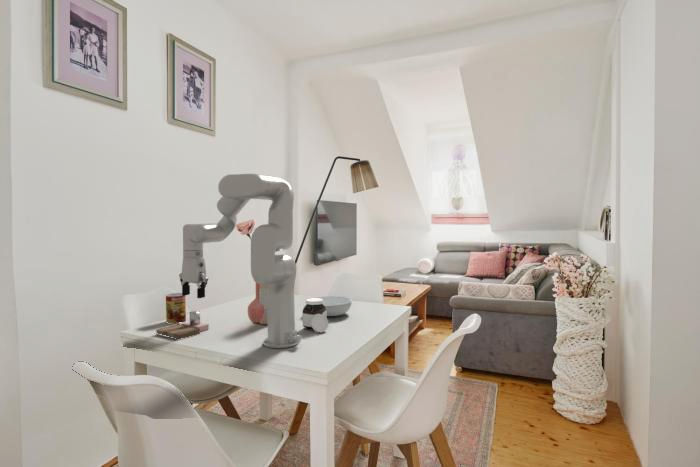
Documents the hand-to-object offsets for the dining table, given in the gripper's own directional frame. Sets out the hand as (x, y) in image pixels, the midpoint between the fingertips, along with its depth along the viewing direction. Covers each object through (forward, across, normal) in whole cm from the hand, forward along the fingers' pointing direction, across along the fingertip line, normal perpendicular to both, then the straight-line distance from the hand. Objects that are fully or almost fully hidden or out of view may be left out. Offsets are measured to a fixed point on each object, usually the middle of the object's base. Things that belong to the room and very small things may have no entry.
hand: (193, 296), depth 157 cm
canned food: (+14, +18, -4) cm, 23 cm away
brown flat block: (+14, -1, +8) cm, 16 cm away
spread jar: (+13, -44, -25) cm, 52 cm away
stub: (+14, -1, 0) cm, 14 cm away
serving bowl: (+13, -34, -48) cm, 60 cm away
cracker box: (+13, -19, -26) cm, 35 cm away
